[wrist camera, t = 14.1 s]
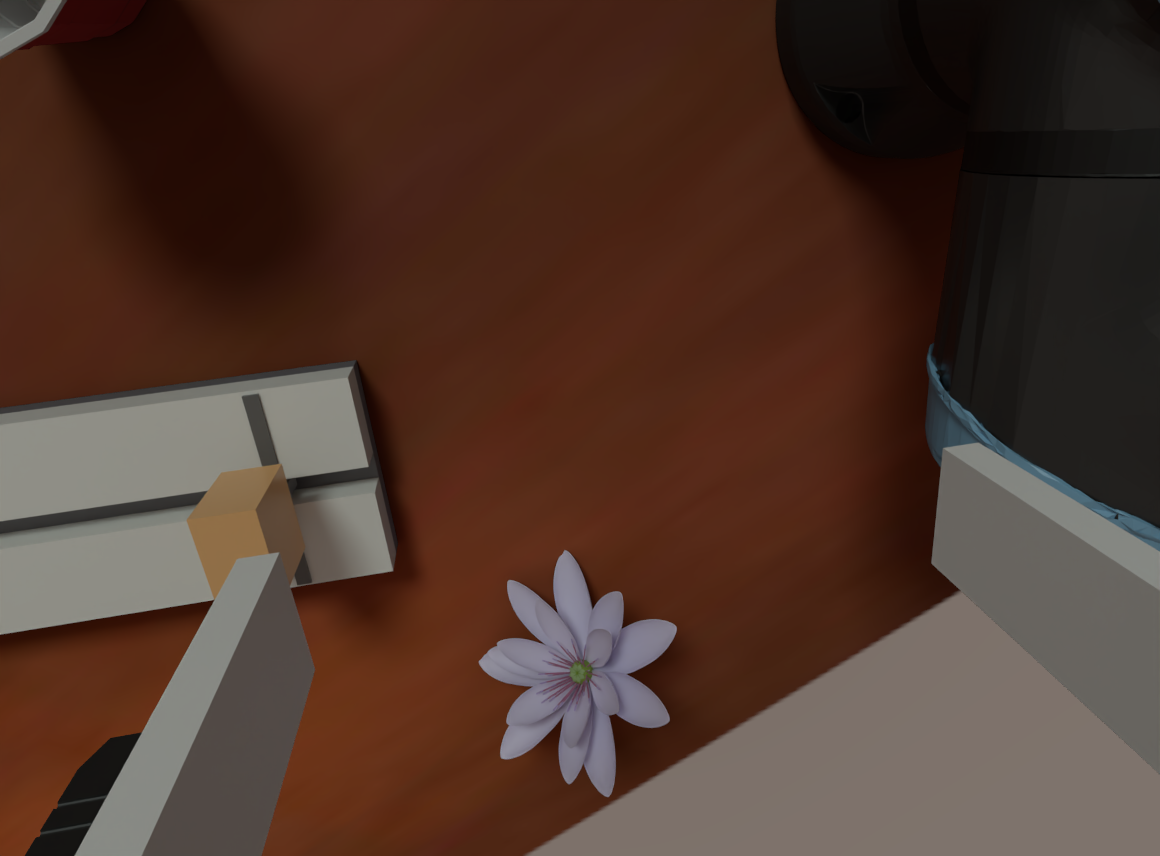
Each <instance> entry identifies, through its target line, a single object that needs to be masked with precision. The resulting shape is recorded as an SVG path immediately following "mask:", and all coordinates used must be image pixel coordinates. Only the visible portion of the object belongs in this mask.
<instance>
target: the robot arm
mask: <svg viewBox="0 0 1160 856" xmlns="http://www.w3.org/2000/svg"><path fill="white" fill-rule="evenodd" d="M776 33H777V43H778V49H779V55H780V59H781V64H782V67H783V70H784V74H785V77H786V79H787V82H788V84H789V87H790V89H791V91H792V93H793V95H794V97H795V99H796V101H797V102H798V104H799V106H800V107H801V109H802V110H803V112H804V113H805V114H806V116H807V117H808V118H809V119H810V120H811V122H812V123H813V124H814V125H815V126H816V127H817V128H818V129H819V130H820V131H822V132H823V133H824V134H825V135H826V136H828V137H829V138H830V139H832V140H833V141H835V142H836V143H838V144H840V145H841V146H843V147H846V148H848V149H850V150H852V151H855V152H858V153H861V154H865V155H869V156H874V157H882V158H900V159H915V158H925V157H932V156H936V155H940V154H944V153H948V152H951V151H954V150H957V149H960V148H962V147H964V153H963V160H962V166H961V169H960V174H959V180H958V187H957V194H956V200H955V207H954V214H953V220H952V227H951V234H950V240H949V247H948V254H947V260H946V267H945V274H944V280H943V287H942V294H941V300H940V307H939V314H938V320H937V327H936V334H935V340H934V343H933V344H931V345H930V347H929V350H928V353H927V364H926V366H927V371H928V375H929V387H928V399H927V412H926V423H925V431H926V438H927V443H928V446H929V449H930V451H931V453H932V455H933V457H934V459H935V460H936V462H937V463H938V464H939V466H940V467H941V473H940V483H939V493H938V503H937V512H936V522H935V532H934V542H933V552H932V562H931V564H933V565H934V566H935V567H936V568H937V569H938V570H939V571H940V572H941V573H942V574H943V575H944V576H946V577H947V578H948V579H949V580H950V581H951V582H952V583H953V584H954V585H955V586H956V587H957V588H958V589H960V590H961V591H962V592H963V593H964V594H965V595H966V596H967V597H968V598H969V599H971V600H972V601H973V602H974V603H975V604H976V605H977V606H978V607H979V608H980V609H981V610H982V611H984V613H986V614H987V615H988V616H989V617H990V618H991V619H992V620H993V621H994V622H995V623H996V624H998V625H999V626H1000V627H1001V628H1002V629H1003V630H1004V631H1005V632H1006V633H1007V634H1008V635H1010V636H1011V637H1012V638H1013V639H1014V640H1015V641H1016V642H1017V643H1018V644H1019V645H1020V646H1021V647H1023V649H1025V650H1026V651H1027V652H1028V653H1029V654H1030V655H1031V656H1032V657H1033V658H1034V659H1036V661H1038V662H1039V663H1040V664H1041V665H1042V666H1043V667H1044V668H1045V669H1046V670H1047V671H1048V672H1049V673H1051V674H1052V675H1053V676H1054V677H1055V678H1056V679H1057V680H1058V681H1059V682H1060V683H1061V684H1062V685H1064V686H1065V687H1066V688H1067V689H1068V690H1069V691H1070V692H1071V693H1072V694H1073V695H1075V697H1077V698H1078V699H1079V700H1080V701H1081V702H1082V703H1083V704H1084V705H1085V706H1086V707H1087V708H1089V709H1090V710H1091V711H1092V712H1093V713H1094V714H1095V715H1096V716H1097V717H1098V718H1099V719H1100V720H1101V721H1103V722H1104V723H1105V724H1106V725H1107V726H1108V727H1109V728H1110V729H1111V730H1112V731H1113V732H1114V733H1115V734H1117V735H1118V736H1119V737H1120V738H1121V739H1122V740H1123V741H1124V742H1125V743H1126V744H1127V745H1129V746H1130V747H1131V748H1132V749H1133V750H1134V751H1135V752H1136V753H1137V754H1138V755H1139V756H1140V757H1141V758H1143V759H1144V760H1145V761H1146V762H1147V763H1148V764H1149V765H1150V766H1151V767H1152V768H1153V769H1154V770H1156V771H1157V772H1158V773H1159V774H1160V0H777V2H776ZM314 671H315V668H314V665H313V661H312V658H311V655H310V651H309V648H308V645H307V641H306V638H305V635H304V631H303V628H302V625H301V621H300V618H299V615H298V611H297V608H296V605H295V601H294V598H293V595H292V592H291V588H290V585H289V582H288V578H287V575H286V572H285V568H284V565H283V562H282V558H281V555H280V552H278V553H271V554H265V555H258V556H252V557H246V558H239V559H237V560H236V562H235V564H234V566H233V568H232V569H231V571H230V573H229V575H228V577H227V578H226V580H225V582H224V584H223V586H222V588H221V589H220V591H219V593H218V595H217V597H216V599H215V600H214V602H213V604H212V606H211V608H210V609H209V611H208V613H207V615H206V617H205V619H204V620H203V622H202V624H201V626H200V628H199V630H198V631H197V633H196V635H195V637H194V639H193V641H192V642H191V644H190V646H189V648H188V650H187V651H186V653H185V655H184V657H183V659H182V661H181V662H180V664H179V666H178V668H177V670H176V672H175V673H174V675H173V677H172V679H171V681H170V682H169V684H168V686H167V688H166V690H165V692H164V693H163V695H162V697H161V699H160V701H159V703H158V704H157V706H156V708H155V710H154V712H153V714H152V715H151V717H150V719H149V721H148V723H147V724H146V726H145V728H144V730H143V732H142V733H137V734H131V735H125V736H120V737H114V738H110V739H109V740H108V741H107V742H106V743H105V744H104V745H103V746H102V747H101V748H100V749H99V750H98V751H97V752H96V753H94V754H93V755H92V756H91V757H90V758H89V759H88V760H87V761H86V762H85V763H84V764H83V765H82V766H81V767H80V768H79V769H78V770H77V772H76V773H75V775H74V777H73V778H72V780H71V782H70V783H69V785H68V786H67V788H66V790H65V791H64V793H63V795H62V796H61V798H60V799H59V801H58V807H57V809H53V811H52V812H51V814H50V816H49V817H48V819H47V820H46V822H45V824H44V825H43V827H42V829H41V830H40V831H41V835H40V837H37V838H35V840H34V842H33V843H32V845H31V846H30V848H29V850H28V851H27V853H26V854H25V856H261V855H262V852H263V848H264V845H265V841H266V838H267V834H268V831H269V828H270V824H271V821H272V817H273V814H274V810H275V807H276V803H277V800H278V796H279V793H280V789H281V786H282V782H283V779H284V776H285V772H286V769H287V765H288V762H289V758H290V755H291V751H292V748H293V744H294V741H295V737H296V734H297V730H298V727H299V723H300V720H301V717H302V713H303V710H304V706H305V703H306V699H307V696H308V692H309V689H310V685H311V682H312V678H313V675H314Z"/></svg>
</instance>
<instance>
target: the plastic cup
mask: <svg viewBox="0 0 1160 856" xmlns="http://www.w3.org/2000/svg"><path fill="white" fill-rule="evenodd" d="M146 1H147V0H0V59H2V58H3V57H5V56H7V55H9V54H10V53H12V52H14V51H16V50H23V49H30V48H31V47H33V46H39V45H49V44H60V43H71V42H82V41H89V40H90V39H92V38H95V37H105V36H111V35H113V34H114V33H116V32H118V31H119V30H121V29H123V28H124V27H126V26H128V25H129V24H131V23H132V22H133V21H135V19H136V17H137V16H138V14H139V12H140V11H141V9H142V7H143V6H144V4H145V3H146Z"/></svg>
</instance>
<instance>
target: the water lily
mask: <svg viewBox="0 0 1160 856" xmlns="http://www.w3.org/2000/svg"><path fill="white" fill-rule="evenodd" d="M553 585H554V597H555V603H556V608H557V612H558V613H557V612H556V611H555V610H554V609H553V608H551V607H550V606H549V605H548V604H547V603H546V602H545V601H544V600H543V599H542V598H540V597H539V596H538V595H537V594H536V593H534V592H533V591H532V590H530V589H529V588H527V587H526V586H524V585H522V584H521V583H519V582H516V581H513V580H508V583H507V590H508V595H509V599H510V602H511V604H512V607H513V609H514V611H515V612H516V614H517V616H518V617H519V619H520V620H521V621H522V623H523V624H524V625H525V626H526V627H527V628H528V630H529V631H530V632H531V633H532V634H533V635H534V636H536V637H537V638H538V639H539V640H540V641H542V642H543V643H544V644H546V645H544V644H541V643H538V642H535V641H531V640H527V639H519V638H510V639H504V640H501V641H499V642H498V643H497V646H496V647H494V648H492V649H490V650H489V651H488V652H487V654H485V655H484V656H483V658H482V659H481V660H480V661H479V664H480V666H481V667H482V669H483V670H484V671H485V672H486V673H488V674H489V675H490V676H492V677H493V678H495V679H497V680H499V681H502V682H505V683H509V684H514V685H521V686H534V687H532V688H530V689H529V690H527V691H526V692H524V693H523V694H522V695H521V696H520V697H519V698H518V699H517V700H516V701H515V702H514V704H513V705H512V707H511V708H510V710H509V713H508V716H507V724H509V727H508V729H507V731H506V733H505V735H504V738H503V741H502V744H501V751H500V755H501V758H502V759H512V758H515V757H518V756H520V755H522V754H524V753H526V752H527V751H529V750H530V749H532V748H533V747H534V746H536V745H537V744H538V743H539V742H540V741H541V740H542V739H543V738H544V737H545V736H546V735H547V734H548V733H549V732H550V731H551V730H552V729H553V728H554V727H555V726H556V724H557V723H558V722H559V721H560V719H561V718H562V716H563V715H564V717H563V722H562V729H561V734H560V741H559V763H560V768H561V772H562V775H563V777H564V779H565V781H566V782H567V783H568V784H571V783H572V782H573V781H574V780H575V778H576V777H577V775H578V773H579V771H580V770H581V767H582V765H583V763H584V766H585V769H586V771H587V774H588V776H589V778H590V780H591V781H592V783H593V784H594V786H595V787H596V788H597V790H598V791H599V792H600V793H601V794H603V795H604V796H606V797H609V796H610V795H611V793H612V789H613V786H614V780H615V771H616V757H615V744H614V737H613V731H612V726H611V722H610V718H609V715H614V714H617V715H618V716H619V717H621V718H622V719H624V720H626V721H628V722H629V723H631V724H634V725H636V726H640V727H646V728H654V727H660V726H663V725H665V724H667V723H668V722H669V721H670V718H669V714H668V712H667V710H666V708H665V707H664V705H663V704H662V702H661V701H660V699H659V698H658V697H657V696H656V695H655V694H654V693H653V692H652V691H651V690H650V689H649V688H648V687H646V686H645V685H644V684H642V683H641V682H639V681H638V680H636V679H634V678H632V677H630V676H629V675H626V674H629V673H632V672H634V671H636V670H638V669H640V668H642V667H644V666H646V665H648V664H650V663H651V662H653V661H654V660H656V659H657V658H658V657H659V656H660V655H661V654H662V653H663V652H664V651H665V650H666V649H667V648H668V646H669V645H670V643H671V642H672V640H673V639H674V636H675V634H676V631H677V627H676V626H675V625H674V624H672V623H670V622H667V621H664V620H658V619H650V620H642V621H638V622H635V623H633V624H631V625H628V626H626V627H624V628H622V624H623V611H624V604H623V597H622V594H621V592H611V593H609V594H606V595H605V596H603V597H602V598H601V599H600V600H599V601H598V602H597V603H596V605H595V606H594V608H593V609H592V604H591V599H590V595H589V591H588V588H587V585H586V582H585V579H584V576H583V574H582V571H581V569H580V567H579V565H578V563H577V562H576V560H575V559H574V557H573V556H572V555H571V554H570V553H569V552H568V551H566V550H565V551H564V552H563V554H562V555H561V556H560V557H559V559H558V561H557V564H556V567H555V572H554V583H553ZM564 713H565V714H564Z"/></svg>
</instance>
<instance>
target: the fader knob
mask: <svg viewBox="0 0 1160 856" xmlns="http://www.w3.org/2000/svg"><path fill="white" fill-rule="evenodd" d="M296 486H297V481H296V478H290V479H286V477H285V473H284V470H283V466H282V464H276V465H269V466H262V467H256V468H249V469H242V470H235V471H228V472H221V474H220V475H219V476H218V478H217V479H216V480H215V482H214V483H213V485H212V486H211V487H210V489H209V490H208V491H207V493H206V494H205V495H204V497H203V498H202V500H201V501H200V502H199V504H198V505H197V506H196V508H195V509H194V510H193V512H192V513H191V514H190V516H189V517H188V519H187V520H186V521H187V523H188V526H189V529H190V532H191V535H192V538H193V541H194V543H195V546H196V549H197V552H198V555H199V558H200V560H201V563H202V566H203V569H204V572H205V575H206V577H207V580H208V583H209V586H210V589H211V592H212V595H213V597H214V600H215V599H216V597H217V595H218V593H219V591H220V589H221V588H222V586H223V584H224V582H225V580H226V578H227V577H228V575H229V573H230V571H231V569H232V568H233V566H234V564H235V562H236V560H237V559H239V558H246V557H252V556H258V555H265V554H271V553H278V552H280V555H281V558H282V562H283V565H284V568H285V572H286V575H287V578H288V582H289V585H291V582H292V580H293V577H294V575H295V572H296V570H297V567H298V565H299V562H300V560H301V557H302V555H303V552H304V550H305V544H304V540H303V537H302V533H301V530H300V526H299V523H298V519H297V516H296V512H295V509H294V505H293V502H292V498H291V496H292V494H293V492H294V490H295V488H296Z"/></svg>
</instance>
